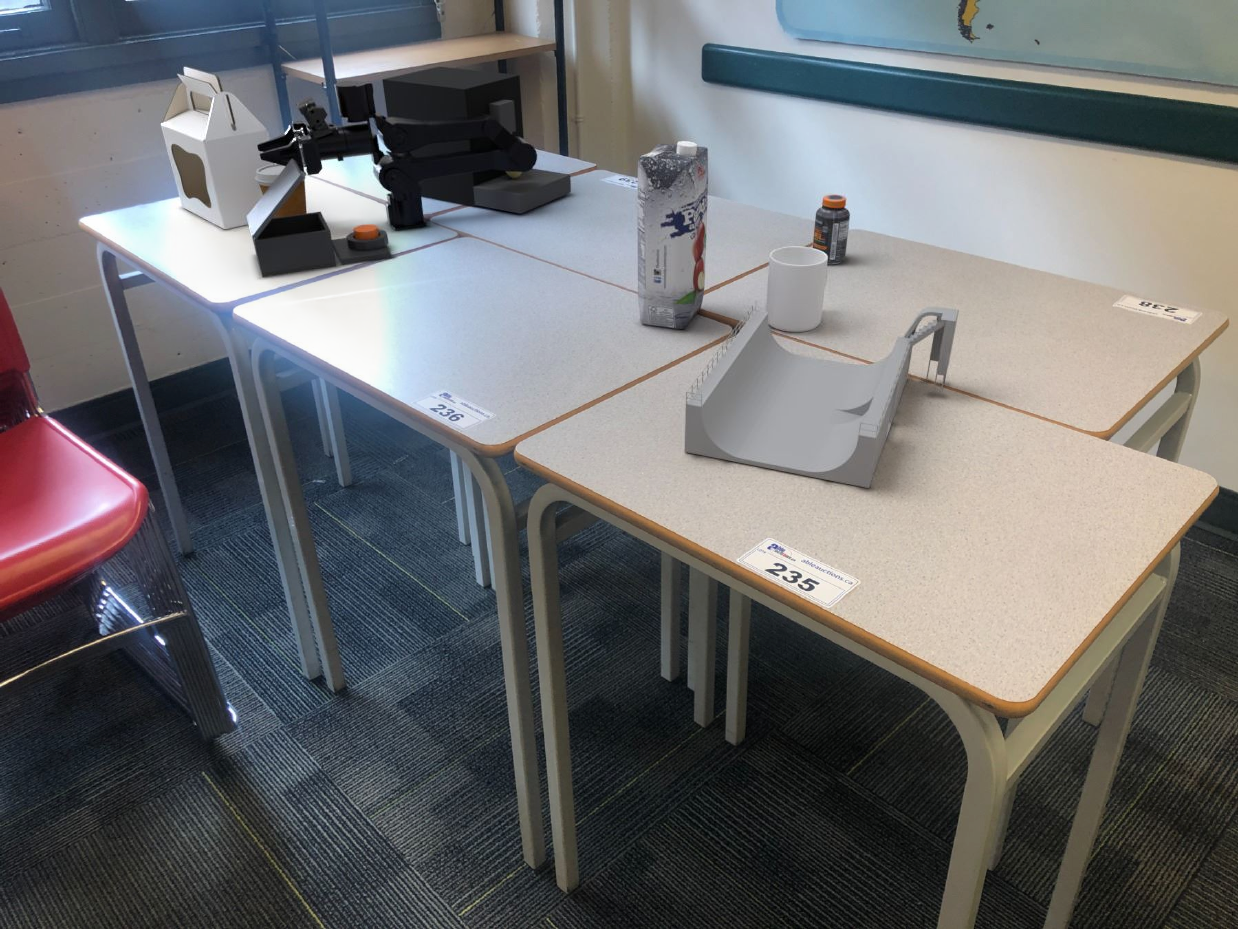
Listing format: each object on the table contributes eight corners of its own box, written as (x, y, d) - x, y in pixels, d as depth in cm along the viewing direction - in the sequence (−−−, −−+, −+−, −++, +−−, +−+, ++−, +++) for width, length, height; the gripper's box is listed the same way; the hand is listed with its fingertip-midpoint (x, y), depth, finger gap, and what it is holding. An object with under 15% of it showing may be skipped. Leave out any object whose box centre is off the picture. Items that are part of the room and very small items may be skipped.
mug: (845, 316, 149) (853, 250, 144) (796, 338, 143) (803, 269, 137) (802, 301, 155) (808, 237, 149) (753, 321, 148) (757, 255, 143)
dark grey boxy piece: (326, 246, 182) (320, 211, 178) (336, 266, 172) (330, 230, 169) (256, 255, 178) (248, 220, 174) (262, 277, 168) (254, 240, 165)
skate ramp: (752, 352, 139) (757, 282, 133) (945, 383, 130) (959, 309, 124) (684, 452, 115) (686, 372, 109) (914, 498, 106) (929, 413, 100)
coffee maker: (520, 216, 196) (512, 95, 183) (397, 191, 212) (381, 79, 200) (571, 194, 209) (566, 79, 196) (450, 173, 225) (439, 66, 213)
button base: (382, 238, 185) (380, 223, 184) (394, 257, 176) (392, 242, 174) (332, 245, 182) (329, 230, 181) (341, 265, 173) (339, 249, 171)
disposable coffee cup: (308, 237, 187) (296, 175, 180) (260, 237, 187) (246, 175, 181) (321, 222, 195) (311, 162, 188) (275, 222, 195) (263, 162, 189)
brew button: (376, 232, 180) (375, 223, 179) (381, 238, 177) (379, 229, 176) (353, 235, 179) (351, 226, 178) (357, 242, 175) (355, 233, 175)
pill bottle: (805, 256, 173) (811, 193, 167) (834, 252, 175) (841, 190, 169) (821, 266, 168) (827, 203, 162) (851, 262, 170) (858, 199, 164)
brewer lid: (295, 160, 172) (292, 158, 172) (304, 177, 163) (300, 174, 162) (249, 219, 174) (246, 216, 174) (255, 239, 165) (251, 236, 164)
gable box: (181, 207, 205) (145, 68, 190) (240, 194, 212) (209, 60, 198) (225, 230, 191) (189, 82, 176) (286, 215, 199) (257, 72, 184)
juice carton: (632, 326, 147) (631, 147, 133) (655, 301, 156) (656, 131, 142) (687, 334, 145) (692, 152, 130) (707, 308, 153) (714, 135, 139)
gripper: (330, 88, 183) (245, 97, 179) (343, 106, 168) (251, 116, 164) (341, 147, 189) (259, 157, 185) (354, 169, 174) (266, 181, 170)
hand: (258, 152), depth 176 cm, fingers open, 7 cm apart
